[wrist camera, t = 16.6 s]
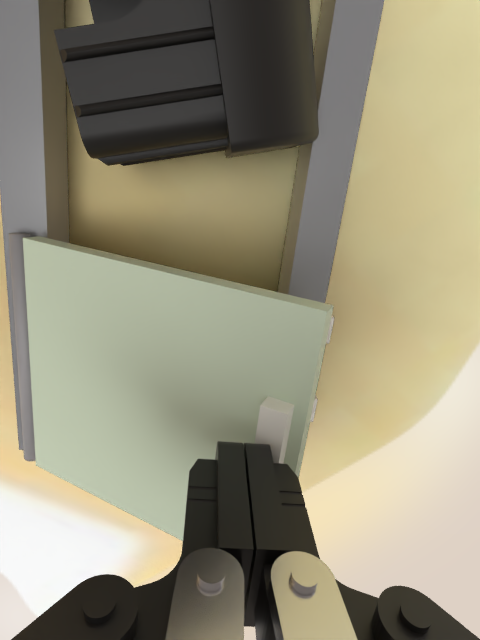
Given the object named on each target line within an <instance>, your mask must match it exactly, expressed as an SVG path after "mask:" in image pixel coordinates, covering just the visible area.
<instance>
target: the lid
mask: <svg viewBox="0 0 480 640" xmlns="http://www.w3.org/2000/svg"><path fill="white" fill-rule="evenodd" d="M9 248H10V263H11V277H12V291H13V306H14V320H15V335H16V349H17V363H18V378H19V392H20V407H21V421H22V435H23V450H24V459H25V460H27V461H35V460H36V466H38V467H40V468H42V469H44V470H46V471H48V472H50V473H52V474H54V475H56V476H58V477H59V478H61V479H63V480H65V481H67V482H69V483H71V484H73V485H75V486H77V487H79V488H81V489H83V490H85V491H87V492H89V493H91V494H92V495H94V496H96V497H98V498H100V499H102V500H104V501H106V502H108V503H110V504H112V505H114V506H116V507H118V508H120V509H122V510H124V511H125V512H127V513H129V514H131V515H133V516H135V517H137V518H139V519H141V520H143V521H145V522H147V523H149V524H151V525H153V526H155V527H157V528H158V529H160V530H162V531H164V532H166V533H168V534H170V535H172V536H174V537H176V538H178V539H180V540H182V541H183V535H184V523H185V512H186V501H187V491H188V480H189V471H190V469H191V468H192V466H193V465H194V464H195V462H196V461H197V459H213V460H215V456H216V447H217V442H218V441H223V442H239V443H243V445H244V443H256V444H269V445H270V447H271V452H272V457H273V462H274V463H281V464H288V465H289V467H290V468H291V469H292V470H293V472H294V473H295V474H296V475H297V477H298V478H299V473H300V468H301V463H302V459H303V454H304V449H305V444H306V439H307V434H308V429H309V424H310V419H311V414H312V409H313V404H314V400H315V395H316V390H317V385H318V380H319V375H320V370H321V365H322V360H323V355H324V350H325V346H326V341H327V336H328V331H329V326H330V321H331V316H332V311H333V306H334V305H330V304H326V303H322V302H317V301H313V300H309V299H305V298H300V297H296V296H292V295H288V294H283V293H279V292H275V291H271V290H266V289H262V288H258V287H254V286H249V285H245V284H241V283H237V282H232V281H228V280H224V279H220V278H215V277H211V276H207V275H203V274H198V273H194V272H190V271H185V270H181V269H177V268H173V267H168V266H164V265H160V264H156V263H151V262H147V261H143V260H139V259H134V258H130V257H126V256H122V255H117V254H113V253H109V252H105V251H100V250H96V249H92V248H88V247H83V246H79V245H75V244H71V243H66V242H62V241H58V240H54V239H49V238H45V237H41V236H36V237H30V234H28V233H20V232H14V233H9Z"/></svg>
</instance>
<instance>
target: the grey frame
mask: <svg viewBox="0 0 480 640" xmlns="http://www.w3.org/2000/svg"><path fill="white" fill-rule="evenodd" d="M383 4H384V0H322V3H321V10H320V16H319V23H318V29H317V36H316V42H315V49H314V69H315V83H316V97H317V111H318V125H319V135H318V138H317V139H316V140H315V141H314V142H312V143H309V144H305V145H300V147H299V153H298V160H297V166H296V173H295V179H294V186H293V192H292V199H291V205H290V212H289V218H288V225H287V231H286V238H285V244H284V251H283V257H282V264H281V270H280V277H279V283H278V290H277V292H279V293H283V294H288V295H292V296H296V297H300V298H305V299H309V300H313V301H317V302H322V303H325V300H326V295H327V290H328V285H329V280H330V275H331V270H332V264H333V259H334V254H335V249H336V244H337V239H338V234H339V229H340V224H341V218H342V213H343V208H344V203H345V198H346V193H347V188H348V183H349V178H350V172H351V167H352V162H353V157H354V152H355V147H356V142H357V137H358V132H359V126H360V121H361V116H362V111H363V106H364V101H365V96H366V91H367V86H368V80H369V75H370V70H371V65H372V60H373V55H374V50H375V45H376V40H377V34H378V29H379V24H380V19H381V14H382V9H383ZM64 28H65V9H64V0H0V195H1V209H2V222H3V236H4V249H5V263H6V277H7V290H8V304H9V317H10V331H11V345H12V358H13V372H14V385H15V399H16V413H17V426H18V440H19V450H23V435H22V421H21V407H20V392H19V378H18V363H17V349H16V335H15V320H14V306H13V291H12V277H11V263H10V248H9V233H14V232H20V233H28V234H30V237H36V236H41V237H45V238H49V239H54V240H58V241H62V242H66V243H69V202H68V154H67V106H66V76H65V72H64V68H63V64H62V60H61V57H60V53H59V49H58V45H57V41H56V37H55V33H54V30H58V29H64ZM333 323H334V317H333V315H332V316H331V321H330V326H329V331H328V336H327V341H326V343H329V342H330V337H331V332H332V328H333ZM317 400H318V399H317V397H316V395H315V400H314V404H313V409H312V414H311V419H310V421H312V422H313V420H314V415H315V410H316V405H317Z"/></svg>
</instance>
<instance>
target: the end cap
mask: <svg viewBox="0 0 480 640" xmlns="http://www.w3.org/2000/svg"><path fill="white" fill-rule="evenodd" d="M89 2H90V6H91V11H92V15H93V20H94V24H90V25H84V26H77V27H71V28H64V29H58V30H54V33H55V37H56V41H57V45H58V49H59V53H60V57H61V60H62V64H63V68H64V72H65V76H66V80H67V84H68V88H69V92H70V96H71V99H72V103H73V107H74V111H75V115H76V119H77V123H78V127H79V131H80V134H81V138H82V141H83V143H84V146H85V148H86V150H87V152H88V154H89V155H90V157H92V158H97V159H99V160H100V161H102V162H103V163H105V164H106V165H108V166H109V165H115V164H121V165H123V166H126V165H133V164H139V163H145V162H152V161H158V160H165V159H171V158H178V157H184V156H190V155H197V154H203V153H210V152H216V151H223V150H225V155H226V158H229V157H236V156H242V155H248V154H254V153H260V152H266V151H272V150H278V149H284V148H289V147H295V146H300V145H305V144H309V143H312V142H314V141H315V140H316V139H317V138H318V135H319V125H318V111H317V97H316V83H315V69H314V55H313V42H312V28H311V14H310V0H89Z"/></svg>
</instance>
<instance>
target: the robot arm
mask: <svg viewBox="0 0 480 640" xmlns="http://www.w3.org/2000/svg"><path fill="white" fill-rule="evenodd" d="M244 626H252V627H254V626H255V629H256V639H257V640H480V639H479V638H477V637H476V636H475V635H474V634H473V633H471V632H470V631H469V630H468V629H466V628H465V627H464V626H463V625H462V624H460V623H459V622H458V621H457V620H455V619H454V618H453V617H452V616H451V615H449V614H448V613H447V612H446V611H444V610H443V609H442V608H441V607H439V606H438V605H437V604H436V603H435V602H433V601H432V600H431V599H430V598H428V597H427V596H425V595H424V594H422V593H420V592H419V591H417V590H415V589H412V588H409V587H405V586H392V587H389V588H387V589H385V590H384V591H383V592H382V593H381V595H380V597H379V598H376V597H373V596H371V595H368V594H365V593H362V592H359V591H356V590H354V589H351V588H349V587H347V586H345V585H343V584H341V583H340V582H339V581H337V580H336V579H335V578H334V575H333V573H332V572H331V570H330V569H329V567H328V566H327V565H326V564H325V563H324V562H322V561H321V560H320V558H319V555H318V551H317V547H316V544H315V540H314V536H313V532H312V528H311V525H310V521H309V517H308V514H307V510H306V508H305V502H304V498H303V495H302V491H301V487H300V483H299V479H298V477H297V475H296V474H295V473H294V472H293V470H292V469H291V468H290V467H289V465H288V464H281V463H274V462H273V457H272V452H271V447H270V445H269V444H256V443H244V445H243V443H239V442H223V441H218V442H217V447H216V456H215V460H213V459H197V461H196V462H195V464H194V465H193V466H192V468H191V469H190V471H189V480H188V491H187V501H186V512H185V523H184V535H183V546H182V554H181V557H180V560H179V562H178V563H177V565H176V566H175V568H174V569H173V570H172V571H171V572H170V573H169V574H168V575H166V576H165V577H164V578H162V579H160V580H158V581H155V582H153V583H149V584H146V585H143V586H139V587H136V588H134V587H133V586H132V585H131V584H130V583H129V582H128V581H127V580H126V579H124V578H122V577H120V576H116V575H109V574H106V575H98V576H94V577H91V578H89V579H87V580H85V581H83V582H81V583H80V584H79V585H77V586H76V587H75V588H74V589H72V590H71V591H70V592H69V593H67V594H66V595H65V596H64V597H63V598H61V599H60V600H59V601H58V602H56V603H55V604H54V605H53V606H52V607H50V608H49V609H48V610H47V611H45V612H44V613H43V614H42V615H41V616H39V617H38V618H37V619H36V620H34V621H33V622H32V623H31V624H30V625H28V626H27V627H26V628H25V629H24V630H22V631H21V632H20V633H19V634H17V635H16V636H15V637H14V638H13V639H11V640H244Z"/></svg>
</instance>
